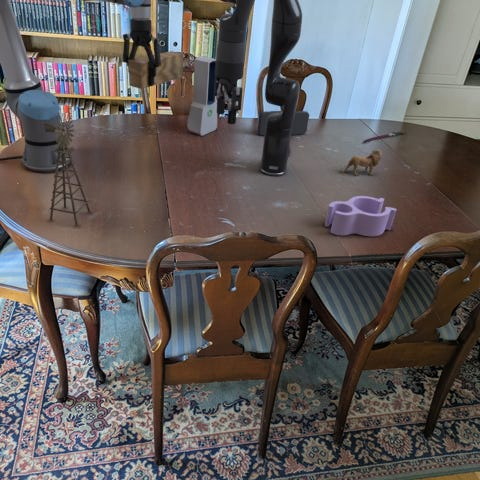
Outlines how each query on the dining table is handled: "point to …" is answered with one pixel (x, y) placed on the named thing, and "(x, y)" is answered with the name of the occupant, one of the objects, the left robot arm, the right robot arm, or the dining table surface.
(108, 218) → the dining table surface
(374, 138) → the sword
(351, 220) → the clip
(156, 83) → the bar
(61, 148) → the miniature windmill
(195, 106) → the electronic device
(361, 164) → the lion figurine
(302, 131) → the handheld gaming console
